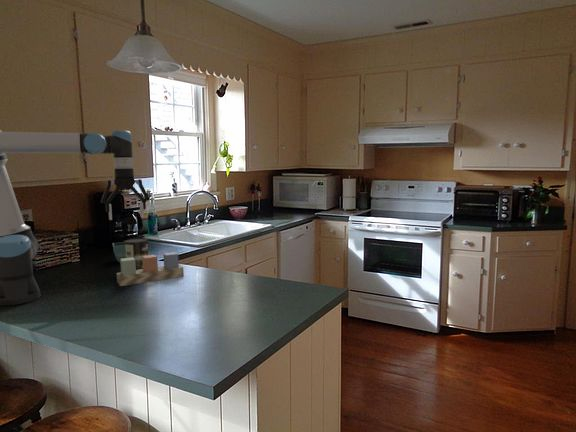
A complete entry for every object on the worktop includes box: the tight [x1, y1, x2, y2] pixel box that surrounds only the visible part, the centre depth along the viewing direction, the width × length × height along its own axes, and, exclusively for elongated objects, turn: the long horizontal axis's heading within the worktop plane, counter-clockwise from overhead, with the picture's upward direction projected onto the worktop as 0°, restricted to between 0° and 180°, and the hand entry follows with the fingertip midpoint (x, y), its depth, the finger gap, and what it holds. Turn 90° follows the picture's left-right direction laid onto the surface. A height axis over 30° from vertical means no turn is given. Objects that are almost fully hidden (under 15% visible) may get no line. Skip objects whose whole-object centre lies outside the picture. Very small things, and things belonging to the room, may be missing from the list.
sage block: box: [119, 257, 136, 276], centre depth 183 cm, size 5×5×7 cm
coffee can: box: [123, 238, 149, 270], centre depth 204 cm, size 10×10×14 cm
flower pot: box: [112, 241, 126, 263], centre depth 223 cm, size 9×9×9 cm
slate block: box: [162, 251, 180, 269], centre depth 192 cm, size 5×5×7 cm
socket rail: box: [116, 264, 185, 287], centre depth 188 cm, size 26×7×4 cm, turn 121°
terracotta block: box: [142, 254, 159, 272], centre depth 187 cm, size 5×5×7 cm
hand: (126, 218), depth 188 cm, fingers open, 12 cm apart
